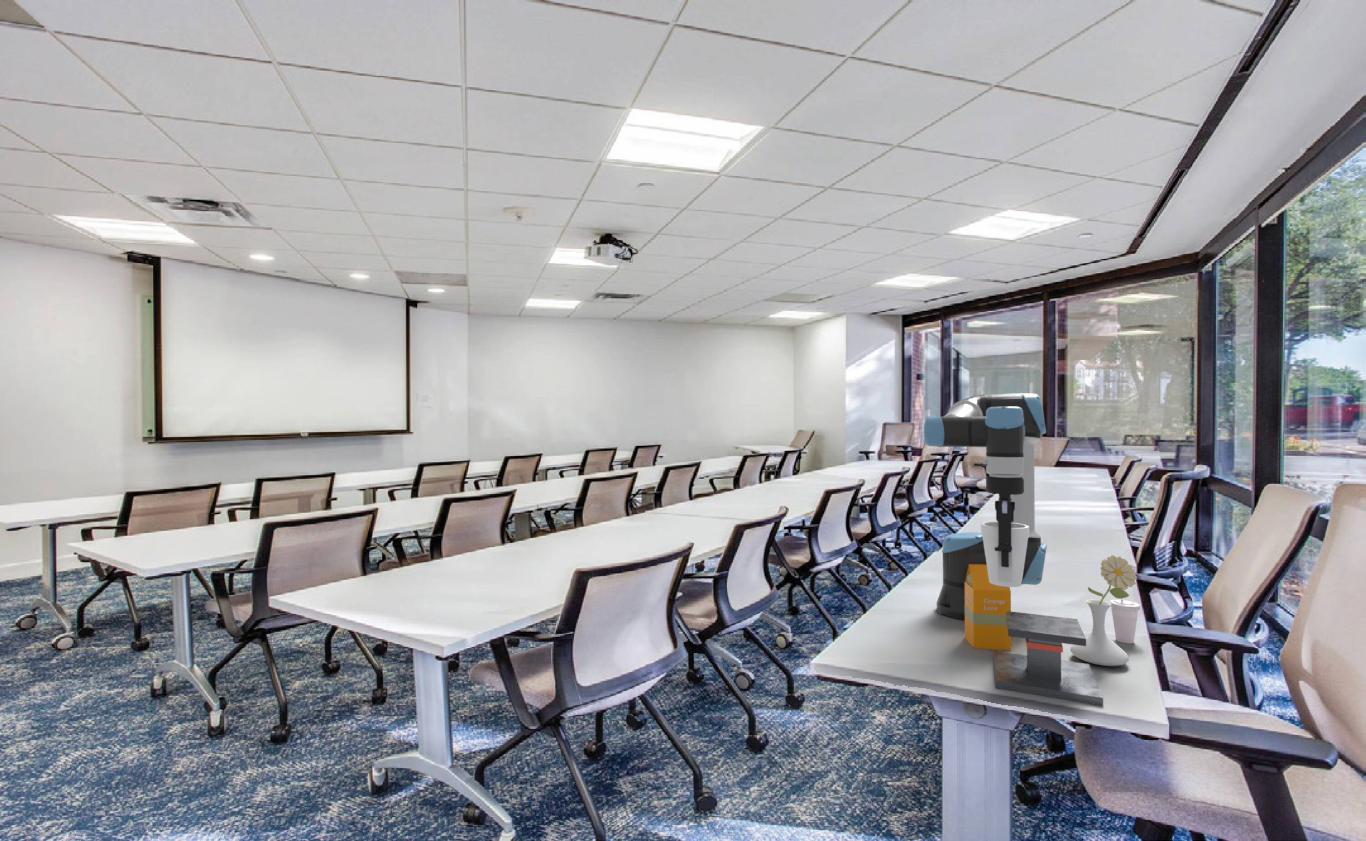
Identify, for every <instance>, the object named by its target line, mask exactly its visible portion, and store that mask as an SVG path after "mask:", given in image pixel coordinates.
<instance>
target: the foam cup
mask: <svg viewBox="0 0 1366 841" xmlns="http://www.w3.org/2000/svg"><path fill="white" fill-rule="evenodd" d="M980 527H981V528H980V530H981V531H980V533H981V534H982V536H983V543H984V550H985V556H986V563H987V570H988V577H989V582H990V583H991V584H994V585H998V586H1004V587H1010V588H1017V587H1022V585H1021V582H1022V577H1023V570H1024V563H1025V556H1026V549H1027V542H1028V538H1029V526H1027V525H1024V524H1019V523H1011V546H1012V582H1003V581H998V551H995V547H998V521H986V522H982V523H980ZM1006 545H1008V544H1006Z"/></svg>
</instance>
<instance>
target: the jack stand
mask: <svg viewBox="0 0 1366 841" xmlns="http://www.w3.org/2000/svg"><path fill="white" fill-rule="evenodd" d="M1006 620H1007V630H1008V636H1011V638H1013V637H1015V638H1020V639H1025V642H1026V643H1025V645H1026V654H1019V653H1012V652H1005V651H999V650H994V651H993V652H994V656H993V657H994V683H995V684H994V685H995V689H1000V690H1007V691H1012V692H1019V693H1024V694H1031V695H1037V696H1043V697H1049V698H1054V699H1060V700H1061V699H1062V700H1067V701H1074V702H1079V703H1085V704H1092V705H1096V706H1097V705H1098V706H1104V696H1103V694H1102V691H1101V690H1100V687H1099V685H1098V682H1097V680H1096V678H1095V675H1094V673H1093V671H1092V667H1091V666H1090V663H1082V662H1075V661H1068V660H1063V659H1062V653H1064V650H1063V649H1064V647H1063V644H1066V645H1080V646H1086V638H1085V637H1086V636H1085V634H1084V631H1083V629H1082V627H1081V624H1080V622H1079V621H1078V618H1072V617H1071V618H1070V617H1061V616H1053V615H1045V614H1044V615H1043V614H1035V613H1028V612H1018V611H1012V610H1011V611H1006Z"/></svg>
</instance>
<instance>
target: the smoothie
mask: <svg viewBox="0 0 1366 841" xmlns="http://www.w3.org/2000/svg"><path fill="white" fill-rule="evenodd" d="M1109 603H1111V604H1112V605H1111V606H1110V608H1111V613H1112V614H1111V615H1112V621H1113V628H1114V634H1115V635H1114V636H1115V640H1116V641H1117V642H1120V643H1123V644H1134V643H1135V637H1136V630H1137V622H1138V616H1139V611H1140V610H1141V605H1140V604H1139V603H1138V602H1135V601H1132V600H1125V599H1124V598H1121V599H1111V600H1109Z"/></svg>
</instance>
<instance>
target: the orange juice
mask: <svg viewBox="0 0 1366 841" xmlns="http://www.w3.org/2000/svg"><path fill="white" fill-rule="evenodd" d="M1011 600H1012V592H1011V587H1004V586H998V585H994V584H991V583H990V582H989V577H988V570H987V565H985V564H969V567H968V571H967V575H966V579H965V620H964V638H965V640H966V641H967V642H968V643H969V644H970V645H971V646H972V648H973V649H989V650H1007V651H1009V650H1010V651H1011V650H1012V636H1008V630H1007V620H1006V611H1011V612H1012V601H1011Z"/></svg>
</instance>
